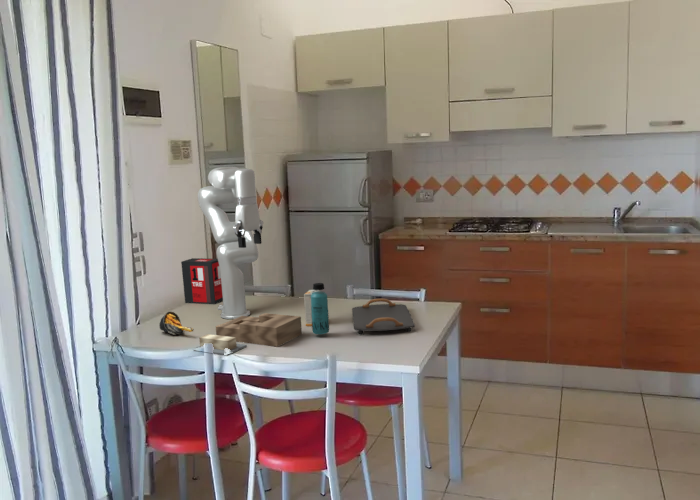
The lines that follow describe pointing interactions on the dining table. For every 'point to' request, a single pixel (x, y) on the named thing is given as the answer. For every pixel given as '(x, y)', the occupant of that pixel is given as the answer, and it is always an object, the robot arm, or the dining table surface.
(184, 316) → the dining table surface
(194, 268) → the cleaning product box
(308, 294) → the supplement box
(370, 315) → the serving board
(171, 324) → the fried shrimp in bowl
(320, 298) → the beverage bottle
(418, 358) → the dining table surface
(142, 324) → the dining table surface
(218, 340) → the maple bar
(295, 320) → the slotted wooden block
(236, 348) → the rubber mat
